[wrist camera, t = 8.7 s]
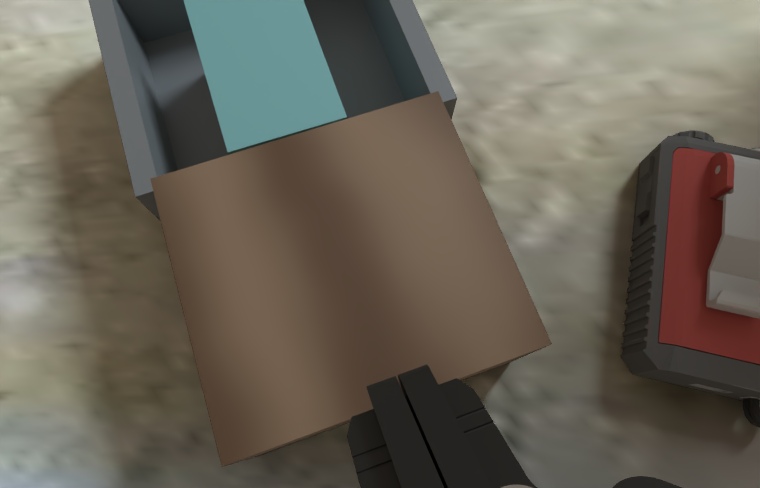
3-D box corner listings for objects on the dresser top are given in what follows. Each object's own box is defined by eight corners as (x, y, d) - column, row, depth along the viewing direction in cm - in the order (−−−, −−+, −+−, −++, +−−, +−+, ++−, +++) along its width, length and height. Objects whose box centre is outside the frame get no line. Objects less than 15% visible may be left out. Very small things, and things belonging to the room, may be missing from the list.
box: (366, -23, 32) (365, -101, 27) (442, 152, 28) (457, 97, 24) (127, 43, 30) (81, -28, 25) (177, 236, 27) (135, 196, 22)
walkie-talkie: (803, 442, 25) (802, 73, 31) (892, 447, 20) (869, 18, 26) (608, 396, 25) (644, 42, 31) (655, 390, 21) (686, -17, 27)
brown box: (425, 157, 28) (438, 90, 23) (511, 361, 25) (551, 344, 19) (197, 230, 27) (150, 178, 21) (258, 455, 24) (221, 466, 18)
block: (351, 170, 27) (304, 42, 29) (347, 117, 22) (292, -31, 25) (253, 200, 27) (214, 68, 29) (227, 152, 22) (182, -3, 24)
